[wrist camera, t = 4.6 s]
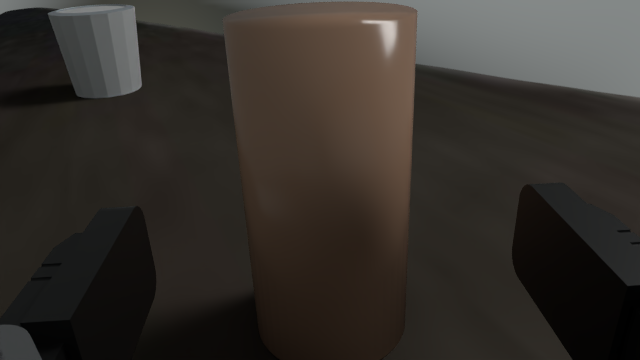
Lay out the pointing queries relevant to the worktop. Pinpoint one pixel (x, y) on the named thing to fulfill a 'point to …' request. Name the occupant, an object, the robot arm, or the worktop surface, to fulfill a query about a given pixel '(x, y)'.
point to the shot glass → (99, 48)
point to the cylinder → (325, 171)
